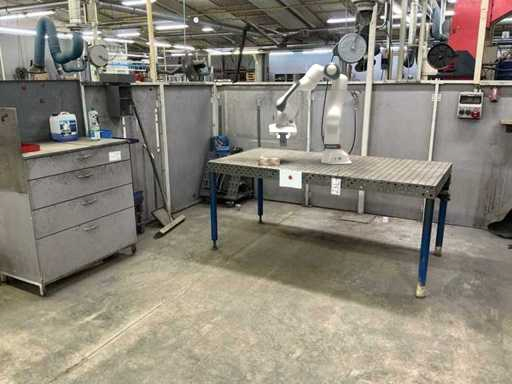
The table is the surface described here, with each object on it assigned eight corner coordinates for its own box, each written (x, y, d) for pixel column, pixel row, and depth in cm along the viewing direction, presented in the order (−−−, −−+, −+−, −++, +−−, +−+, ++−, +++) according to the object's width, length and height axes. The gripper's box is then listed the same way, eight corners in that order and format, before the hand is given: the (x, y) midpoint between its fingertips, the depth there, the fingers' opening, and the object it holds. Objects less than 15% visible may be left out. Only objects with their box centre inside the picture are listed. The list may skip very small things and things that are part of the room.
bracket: (286, 145, 292) (286, 132, 290) (286, 146, 284) (287, 134, 282) (279, 145, 292) (279, 132, 290) (279, 146, 285) (280, 134, 282)
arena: (279, 162, 296) (280, 155, 295) (279, 165, 283) (279, 158, 281) (261, 162, 297) (261, 155, 296) (259, 165, 284) (259, 158, 283)
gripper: (269, 121, 294) (268, 135, 286) (296, 121, 293) (297, 136, 286) (269, 126, 299) (268, 141, 292) (296, 127, 298) (296, 141, 291)
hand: (283, 138), depth 289 cm, fingers closed on bracket, 5 cm apart
